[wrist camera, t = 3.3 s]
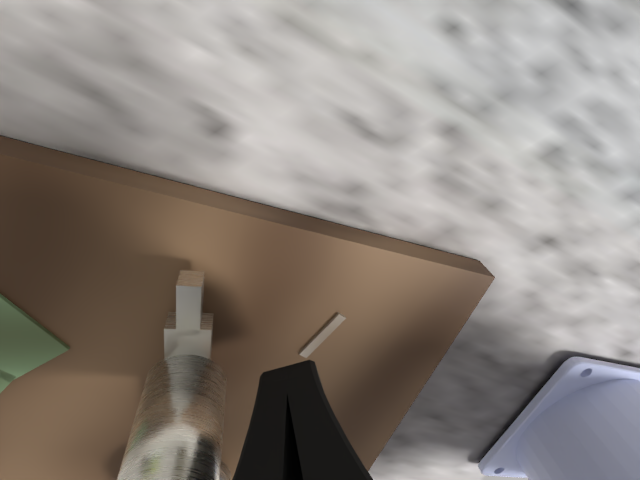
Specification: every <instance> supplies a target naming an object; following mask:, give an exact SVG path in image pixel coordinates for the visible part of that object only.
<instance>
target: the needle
mask: <svg viewBox="0 0 640 480" xmlns="http://www.w3.org/2000/svg"><path fill="white" fill-rule="evenodd" d="M203 292H204V271H191V270H180V274H179V277H178V281H177V284H176V312H169V313H168V316H167V320H166V323H165V327H164V360H162V361H160V362H158V363H157V364H156V365H154V366H153V367H152V368H151V370H150V371H149V373H148V375H147V378H146V381H145V385H144V388H143V392H142V395H141V398H140V402H139V405H138V409H137V412H136V416H135V419H134V422H133V426H132V429H131V433H130V436H129V440H128V443H127V446H126V450H125V453H124V457H123V460H122V464H121V467H120V471H119V474H118V477H117V480H231V472H230V469H229V467H228V466H227V465H226V464H225V463H224V462H222V461H221V453H222V438H223V423H224V408H225V393H226V376H225V373H224V371H223V370H222V368H221V367H220V366H219V365H218V364H217V363H215V362H214V361H212V360H211V351H212V333H213V316H214V313H203Z"/></svg>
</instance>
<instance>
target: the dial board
mask: <svg viewBox="0 0 640 480" xmlns="http://www.w3.org/2000/svg"><path fill="white" fill-rule="evenodd" d="M180 270H191V271H204V292H203V313H214V316H213V333H212V351H211V360H212V361H214V362H215V363H217V364H218V365H219V366H220V367H221V368H222V370H223V371H224V373H225V376H226V393H225V408H224V423H223V438H222V453H221V461H222V462H224V463H225V464H226V465H227V466H228V467H229V469H230V472H231V480H232V479H233V476H234V473H235V471H236V468H237V464H238V461H239V458H240V455H241V451H242V448H243V445H244V441H245V438H246V435H247V431H248V428H249V424H250V420H251V416H252V412H253V408H254V404H255V400H256V395H257V391H258V386H259V380H260V376H261V375H262V373H263V372H266V371H270V370H274V369H277V368H281V367H285V366H288V365H292V364H296V363H299V362H303V361H307V360H312V361H314V362H315V364H316V367H317V371H318V374H319V377H320V380H321V383H322V387H323V390H324V393H325V395H326V397H327V400H328V402H329V404H330V406H331V408H332V410H333V412H334V414H335V416H336V418H337V420H338V422H339V424H340V425H341V427H342V429H343V431H344V433H345V435H346V436H347V438H348V440H349V442H350V443H351V445H352V447H353V449H354V450H355V452H356V454H357V455H358V457H359V458H360V460H361V462H362V463H363V465H364V466H365V468H366V470H367V471H369V469H370V468H371V466H372V464H373V463H374V461H375V460H376V458H377V457H378V455H379V454H380V452H381V451H382V449H383V448H384V446H385V445H386V443H387V442H388V440H389V439H390V437H391V436H392V434H393V432H394V431H395V429H396V428H397V426H398V425H399V423H400V422H401V420H402V419H403V417H404V416H405V414H406V413H407V411H408V410H409V408H410V407H411V405H412V403H413V402H414V400H415V399H416V397H417V396H418V394H419V393H420V391H421V390H422V388H423V387H424V385H425V384H426V382H427V381H428V379H429V378H430V376H431V374H432V373H433V371H434V370H435V368H436V367H437V365H438V364H439V362H440V361H441V359H442V358H443V356H444V355H445V353H446V352H447V350H448V349H449V347H450V345H451V344H452V342H453V341H454V339H455V338H456V336H457V335H458V333H459V332H460V330H461V329H462V327H463V326H464V324H465V323H466V321H467V320H468V318H469V317H470V315H471V313H472V312H473V310H474V309H475V307H476V306H477V304H478V303H479V301H480V300H481V298H482V297H483V295H484V294H485V292H486V291H487V289H488V288H489V286H490V284H491V283H492V281H493V280H494V278H495V277H494V276H493V275H492V274H491V273H490V272H489V271H488V269H487V268H486V267H485V266H484V265H483V264H482V263H481V262H480V261H478V260H474V259H470V258H466V257H462V256H459V255H455V254H451V253H447V252H443V251H439V250H436V249H432V248H428V247H424V246H420V245H416V244H413V243H409V242H405V241H401V240H397V239H393V238H390V237H386V236H382V235H378V234H374V233H371V232H367V231H363V230H359V229H355V228H351V227H348V226H344V225H340V224H336V223H332V222H328V221H325V220H321V219H317V218H313V217H309V216H305V215H302V214H298V213H294V212H290V211H286V210H283V209H279V208H275V207H271V206H267V205H263V204H260V203H256V202H252V201H248V200H244V199H240V198H237V197H233V196H229V195H225V194H221V193H217V192H214V191H210V190H206V189H202V188H198V187H194V186H191V185H187V184H183V183H179V182H175V181H172V180H168V179H164V178H160V177H156V176H152V175H149V174H145V173H141V172H137V171H133V170H129V169H126V168H122V167H118V166H114V165H110V164H106V163H103V162H99V161H95V160H91V159H87V158H84V157H80V156H76V155H72V154H68V153H64V152H61V151H57V150H53V149H49V148H45V147H41V146H38V145H34V144H30V143H26V142H22V141H18V140H15V139H11V138H7V137H3V136H0V480H117V477H118V474H119V471H120V467H121V464H122V460H123V457H124V453H125V450H126V446H127V443H128V440H129V436H130V433H131V429H132V426H133V422H134V419H135V416H136V412H137V409H138V405H139V402H140V398H141V395H142V392H143V388H144V385H145V381H146V378H147V375H148V373H149V371H150V370H151V368H152V367H153V366H154V365H156V364H157V363H158V362H160V361H162V360H164V327H165V323H166V320H167V316H168V313H169V312H176V284H177V281H178V277H179V274H180Z"/></svg>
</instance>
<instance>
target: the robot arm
mask: <svg viewBox="0 0 640 480" xmlns="http://www.w3.org/2000/svg"><path fill="white" fill-rule="evenodd" d="M478 467H479V469H480V471H481V473H482V474H483V475H487V476H504V477H521V478H522V477H523V478H528V479H529V480H640V368H636V367H631V366H626V365H621V364H615V363H610V362H605V361H599V360H594V359H589V358H583V357H571V358H569V359H567V360H566V361H565V362H564V363H563V364H562V365H561V366H560V367H559V369H558V370H557V371H556V372H555V373H554V374H553V376H552V377H551V378H550V379H549V380H548V382H547V383H546V384H545V385H544V386H543V387H542V389H541V390H540V391H539V392H538V393H537V395H536V396H535V397H534V398H533V399H532V401H531V402H530V403H529V404H528V405H527V406H526V408H525V409H524V410H523V411H522V412H521V414H520V415H519V416H518V417H517V418H516V420H515V421H514V422H513V423H512V424H511V425H510V427H509V428H508V429H507V430H506V431H505V433H504V434H503V435H502V436H501V437H500V438H499V440H498V441H497V442H496V443H495V444H494V446H493V447H492V448H491V449H490V450H489V452H488V453H487V454H486V455H485V456H484V457H483V459H482V460H481V461H480V462H479V464H478ZM232 480H373V479H372V477H371V476H370V474H369V473H368V471H367V470H366V468H365V466H364V465H363V463H362V462H361V460H360V458H359V457H358V455H357V454H356V452H355V450H354V449H353V447H352V445H351V443H350V442H349V440H348V438H347V436H346V435H345V433H344V431H343V429H342V427H341V425H340V424H339V422H338V420H337V418H336V416H335V414H334V412H333V410H332V408H331V406H330V404H329V402H328V400H327V397H326V395H325V393H324V390H323V387H322V383H321V380H320V377H319V374H318V371H317V367H316V364H315V362H314V361H312V360H307V361H303V362H299V363H296V364H292V365H288V366H285V367H281V368H277V369H274V370H270V371H266V372H263V373H262V375H261V376H260V380H259V386H258V391H257V395H256V400H255V404H254V408H253V412H252V416H251V420H250V424H249V428H248V431H247V435H246V438H245V441H244V445H243V448H242V451H241V455H240V458H239V461H238V464H237V468H236V471H235V473H234V476H233V479H232Z"/></svg>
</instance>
